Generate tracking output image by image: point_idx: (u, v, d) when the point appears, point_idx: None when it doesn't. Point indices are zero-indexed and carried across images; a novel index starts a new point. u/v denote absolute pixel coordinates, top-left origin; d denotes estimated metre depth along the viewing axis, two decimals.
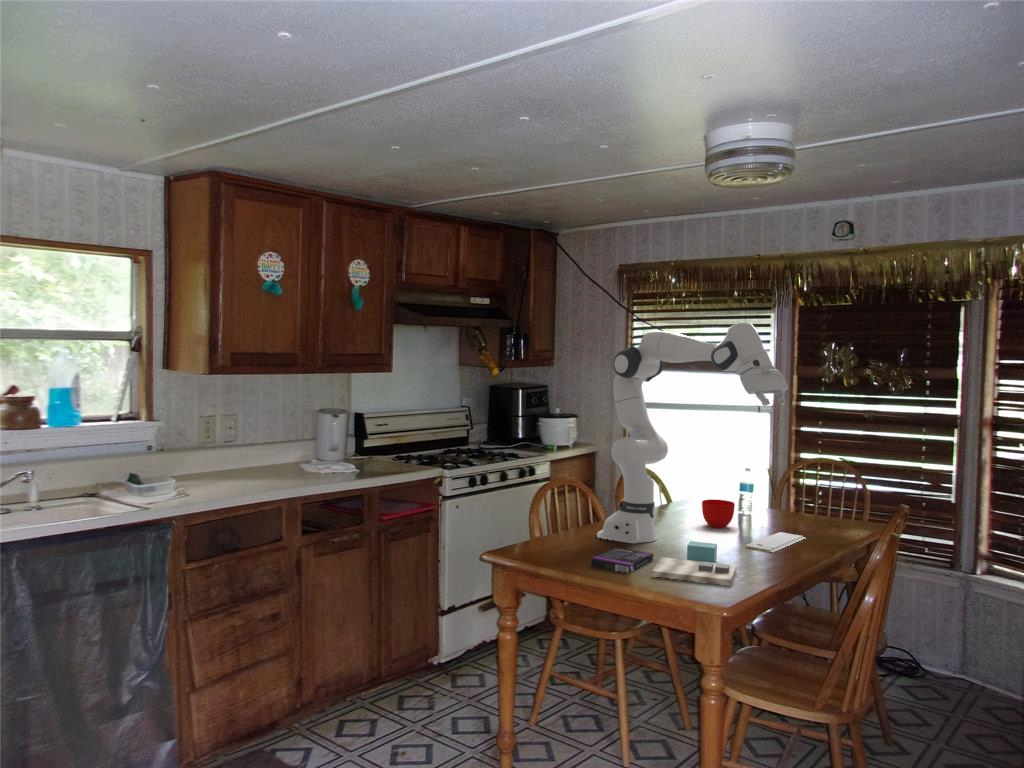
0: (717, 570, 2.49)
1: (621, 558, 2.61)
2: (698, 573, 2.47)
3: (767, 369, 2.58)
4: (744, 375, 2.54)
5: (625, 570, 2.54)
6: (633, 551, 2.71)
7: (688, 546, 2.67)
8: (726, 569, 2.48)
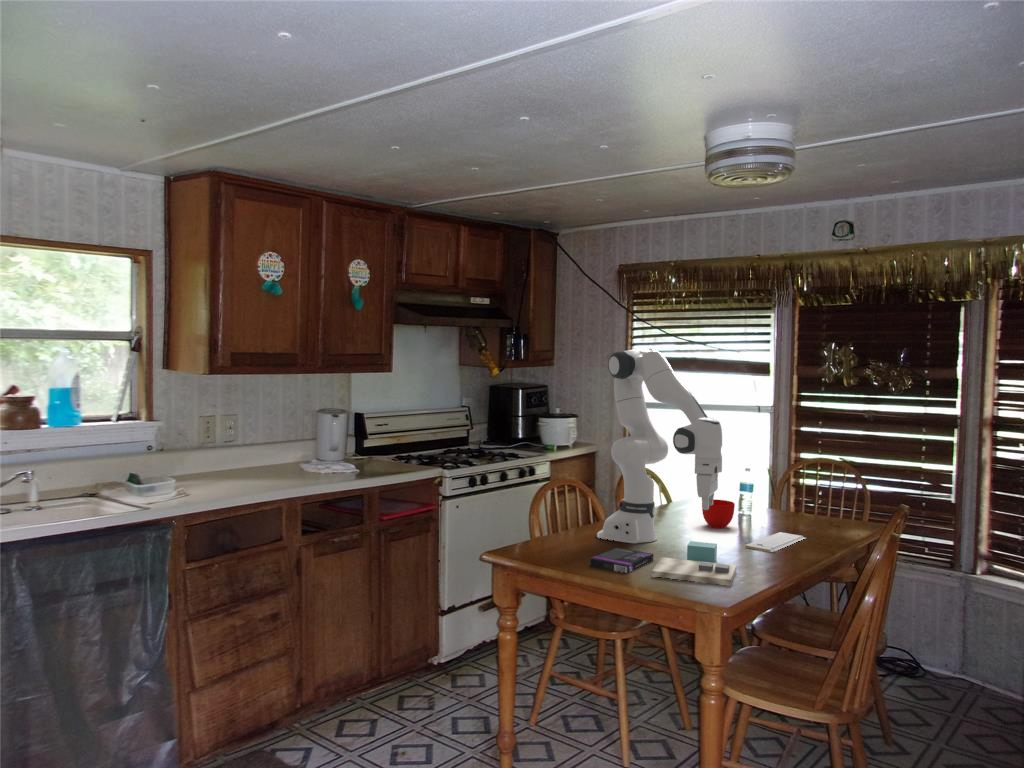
0: (717, 570, 2.49)
1: (620, 558, 2.61)
2: (698, 573, 2.47)
3: (717, 474, 2.65)
4: (702, 478, 2.58)
5: (624, 570, 2.54)
6: (633, 551, 2.71)
7: (688, 546, 2.67)
8: (726, 569, 2.48)
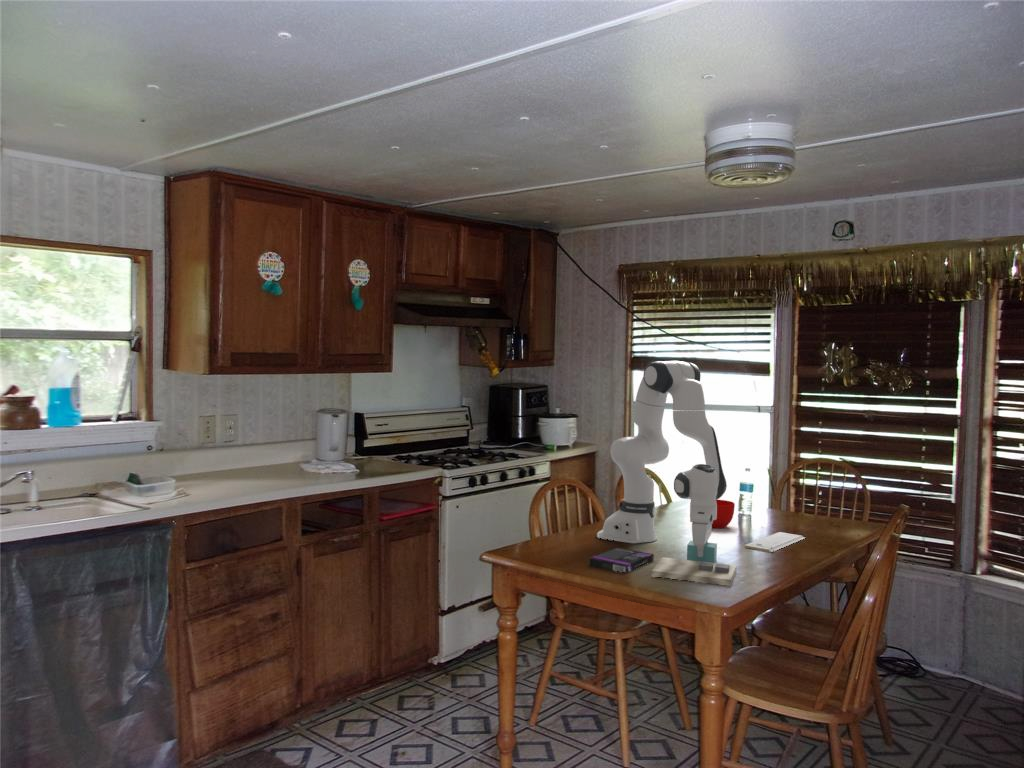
0: (717, 570, 2.49)
1: (620, 558, 2.61)
2: (698, 573, 2.47)
3: (712, 522, 2.67)
4: (697, 527, 2.60)
5: (622, 570, 2.54)
6: (634, 551, 2.71)
7: (688, 546, 2.67)
8: (726, 569, 2.48)
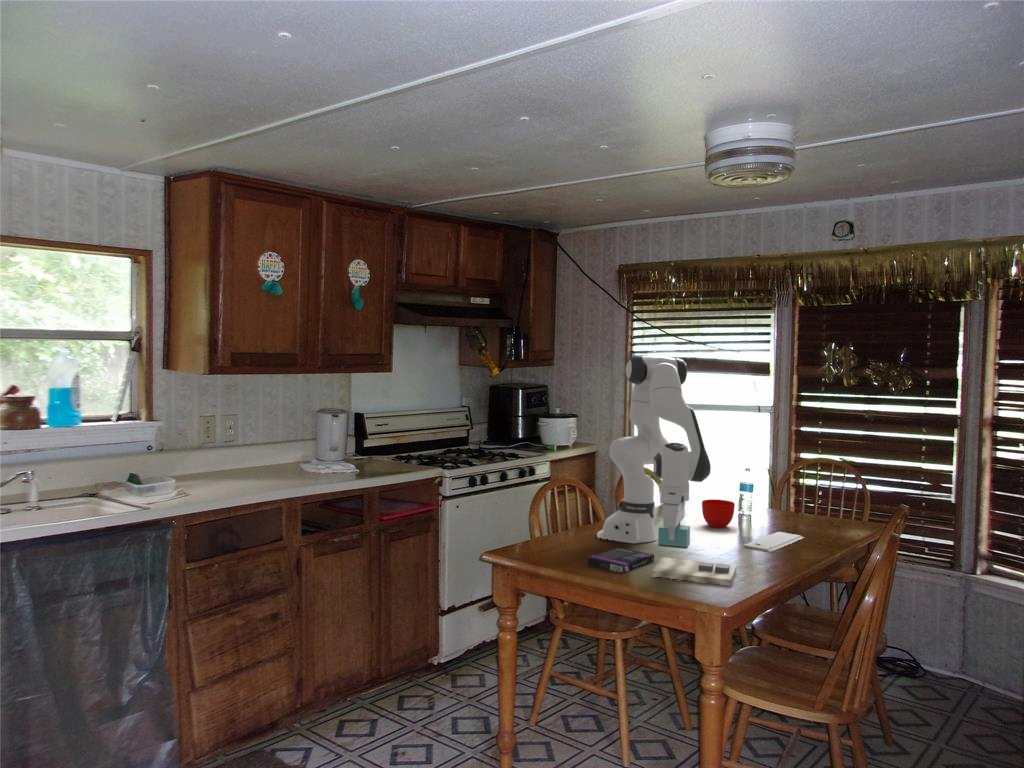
0: (717, 570, 2.49)
1: (618, 558, 2.61)
2: (698, 573, 2.47)
3: (684, 503, 2.53)
4: (668, 508, 2.46)
5: (619, 570, 2.54)
6: (634, 551, 2.70)
7: (659, 528, 2.54)
8: (726, 569, 2.48)
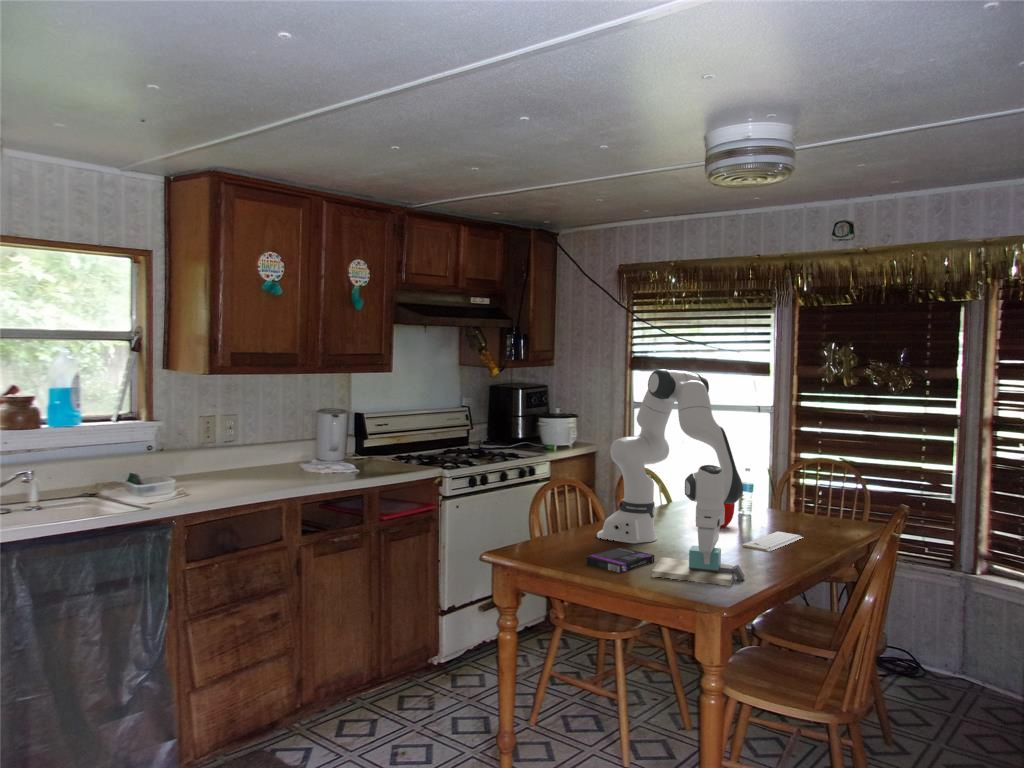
0: (735, 571, 2.47)
1: (617, 558, 2.61)
2: (698, 573, 2.47)
3: (719, 527, 2.49)
4: (704, 533, 2.43)
5: (616, 569, 2.54)
6: (635, 551, 2.70)
7: (690, 551, 2.50)
8: (741, 578, 2.46)
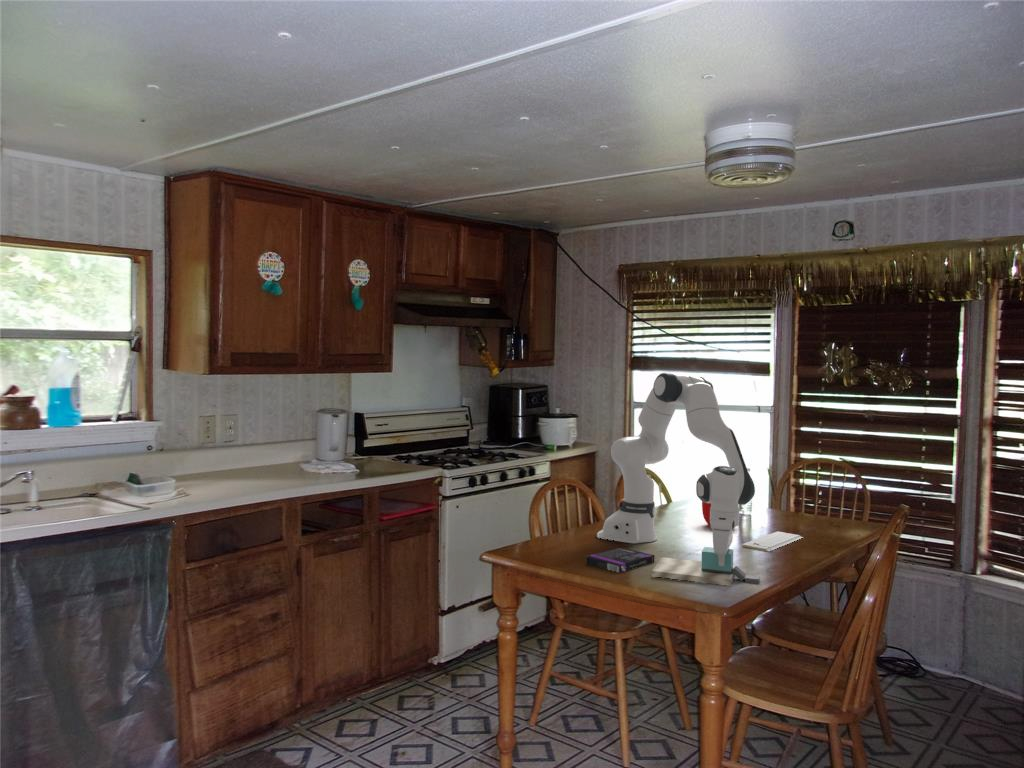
0: (756, 580, 2.45)
1: (617, 557, 2.61)
2: (698, 573, 2.47)
3: (733, 528, 2.48)
4: (718, 534, 2.41)
5: (616, 569, 2.54)
6: (635, 552, 2.70)
7: (703, 552, 2.49)
8: (746, 581, 2.46)
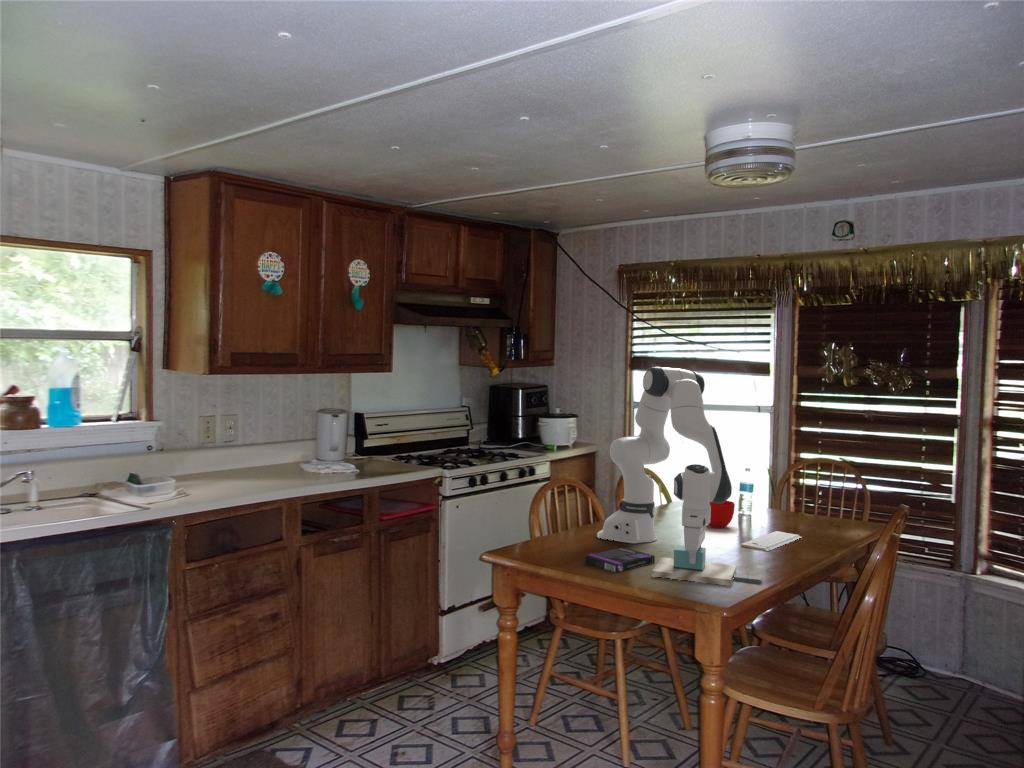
0: (758, 581, 2.44)
1: (615, 557, 2.62)
2: (698, 573, 2.47)
3: (705, 526, 2.51)
4: (689, 532, 2.44)
5: (612, 569, 2.55)
6: (636, 552, 2.70)
7: (675, 550, 2.52)
8: None
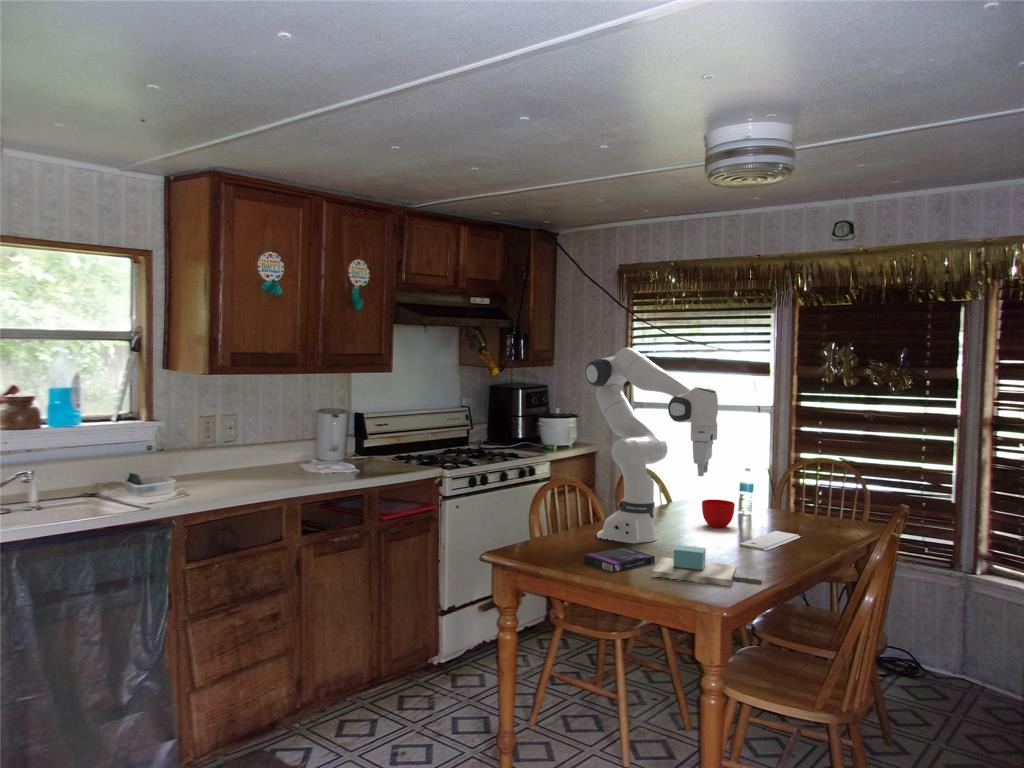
0: (758, 581, 2.44)
1: (614, 557, 2.62)
2: (698, 573, 2.47)
3: (712, 442, 2.70)
4: (698, 445, 2.63)
5: (610, 568, 2.55)
6: (636, 552, 2.70)
7: (675, 550, 2.52)
8: None
